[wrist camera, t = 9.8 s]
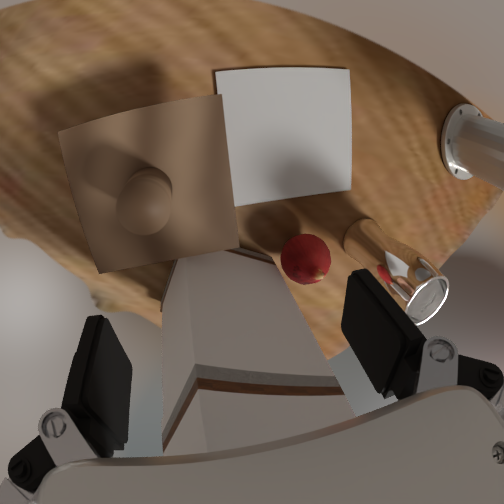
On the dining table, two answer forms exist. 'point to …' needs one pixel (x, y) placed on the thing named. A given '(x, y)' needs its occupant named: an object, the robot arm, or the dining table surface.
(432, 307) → the beer glass
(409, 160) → the dining table surface
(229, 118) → the mat
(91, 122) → the lid
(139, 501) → the robot arm
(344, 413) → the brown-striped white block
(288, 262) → the onion
